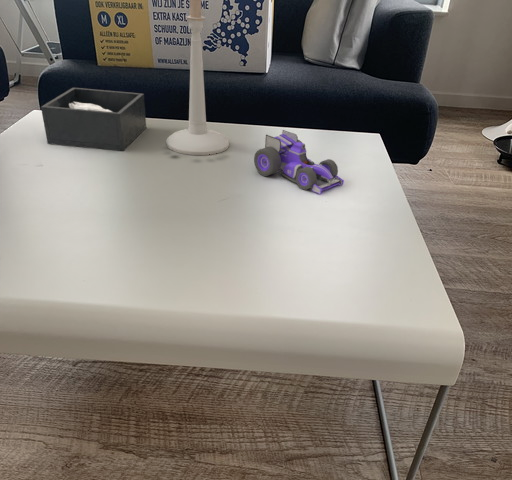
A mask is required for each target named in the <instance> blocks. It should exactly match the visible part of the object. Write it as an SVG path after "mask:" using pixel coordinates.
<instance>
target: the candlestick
mask: <svg viewBox="0 0 512 480" xmlns="http://www.w3.org/2000/svg"><path fill="white" fill-rule="evenodd" d="M185 18H186V19H187V20H188V28H189V30H190V33H191V38H190V58H189V59H190V61H189V62H190V64H189V102H188V105H189V106H188V107H189V108H188V127H187V128H185V129H181V130H177V131H175V132H174V133H171V134H170V135H169V136H168V137H167V138H166V141H165V142H166V147H167V148H168V149H169V150H171V151H173V152H176V153H178V154H183V155H189V156H210V155H211V156H212V155H216V153H217V154H220V153H223V152H225V151H227V150H228V149H229V147H230V142H229V141H230V140H229V139H228V138H227V137H226V136H225V135H224V134H222V133H220V132H218V131H215V130H212V129H208V127H207V115H206V96H205V81H204V80H205V79H204V63H203V45H202V42H203V40H202V37H201V33H202V30H203V29H204V25H203V24H204V20H206V19H207V18H206V16H203V15H202V0H189V15H186V16H185ZM209 154H210V155H209Z"/></svg>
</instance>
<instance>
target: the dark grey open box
mask: <svg viewBox="0 0 512 480" xmlns="http://www.w3.org/2000/svg"><path fill="white" fill-rule="evenodd" d="M74 102H79V103H87V104H88V103H89V104H94V105H98V106H101V107H102V108H103V109H108V110H110V111H112V112H106V111H95V110H84V109H73V108H70V107H69V103H73V104H75V103H74ZM75 105H76V104H75ZM40 110H41V115H42V121H43V126H44V132H45V137H46V138H45V139H46V144H48V145H58V146H67V147H79V148H87V149H88V148H90V149H100V150H110V151H121V152H124V151H125V150H126V149H127V148H128V147H129V146H130V145H131V144H132V143H133V142H134V141H135V140H136V139H137V138H138V137H139V136H140V135H141V134H142V133H143V132H144V130H145V129H147V117H146V105H145V93H139V92H129V91H128V92H127V91H117V90H106V89H105V90H104V89H93V88H85V87H84V88H82V87H71V88H69V89H67V90H66V91H65V92H63V93H61V94H59V95H58V96H56V97H55V98H53V99H51V100H50V101H48V102H46V103H45V104H43V105H41V106H40Z"/></svg>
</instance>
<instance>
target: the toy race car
mask: <svg viewBox="0 0 512 480" xmlns="http://www.w3.org/2000/svg"><path fill="white" fill-rule="evenodd" d="M264 143H265V144H264V147H263V148H259V149H258V150H256V151H255V153H254V156H253V164H254V167H255V169H256V171H257V173H258V174H260V175H261V176H263V177H268V176H271V175H274V174H277V173H278V172H279V171H280V170H282V171H280V172H279V174H280V175H281V176H282V177H284V178H286V179H287V180H289V181H291V182H292V183H296V184H297V186H298V187H299V189H301V190H305V191H306V190H309V189H311V191H312V192H314V193H316V194H318V195H321V194H322V193H323V191H326V190H329V189H330V188H333V187H335V186H338V185H340V186H344V183H345V179H343V178H341V176H339V175H338V174H339V168H338V164H337V163H336V162H335V161H334V160H333V159H330V158H327V159H324V160H321V161H320V162H319V163H318V164H317V163H315V161H313V160H312V159H309V158H308V156H307V149H306V144H305V143H303V142H302V141H301V139H299V138H298V134H296V133H294V132H290V131H287V130H284V129H282V133H281V134H279V135H277V136H272V135H269V134H265V141H264ZM317 181H323V182H327V183H324V184H322V185H318V184H317Z"/></svg>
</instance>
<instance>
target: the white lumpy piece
mask: <svg viewBox="0 0 512 480" xmlns="http://www.w3.org/2000/svg"><path fill="white" fill-rule="evenodd" d="M74 103H75V104H76V105H75V104H73V103H69V107H70V108H73V109H84V110H95V111H106V112H112V111H110V110H108V109H103V108H102V107H101V106H98V105H94V104H89V103H88V104H87V103H79V102H74Z"/></svg>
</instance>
